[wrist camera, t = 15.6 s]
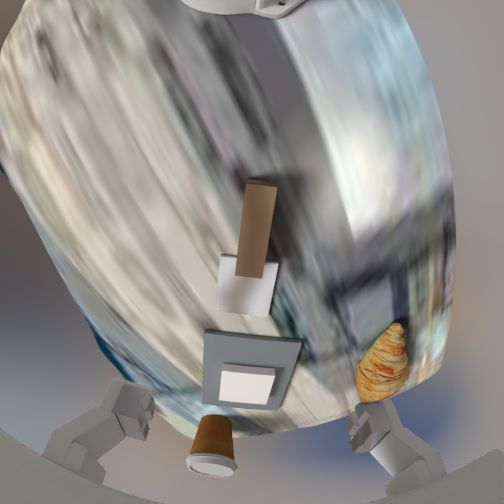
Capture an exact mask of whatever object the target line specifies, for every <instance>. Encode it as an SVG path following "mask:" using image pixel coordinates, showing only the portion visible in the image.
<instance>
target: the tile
mask: <svg viewBox="0 0 504 504" xmlns="http://www.w3.org/2000/svg"><path fill="white" fill-rule="evenodd" d="M274 378H275V368H263V367H252V366H242V365H233V364H225V363H223V365H222V373H221V384H220V394H219V400H222V401H230V402H240V403H251V404H266V403H267V400H268V397H269V394H270V391H271V388H272V384H273V381H274Z"/></svg>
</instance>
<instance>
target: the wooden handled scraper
mask: <svg viewBox="0 0 504 504" xmlns="http://www.w3.org/2000/svg"><path fill="white" fill-rule="evenodd" d="M276 193H277V186H276V184H275V182H271V181H264V180H257V179H250V178H247V184H246V191H245V199H244V206H243V214H242V221H241V229H240V237H239V245H238V253H237V256H229V255H221V256H220V265H219V276H218V287H217V299H216V311H221V312H228V313H236V314H245V315H253V316H262V317H268V313H269V308H270V304H271V299H272V294H273V289H274V284H275V279H276V274H277V269H278V262H276V261H268V260H265V259H266V253H267V248H268V242H269V236H270V230H271V224H272V218H273V212H274V205H275V199H276Z"/></svg>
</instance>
